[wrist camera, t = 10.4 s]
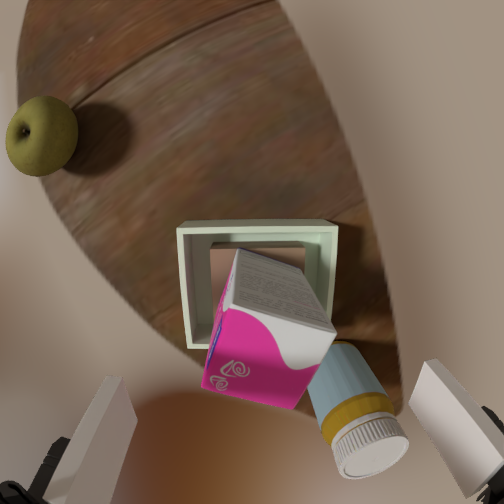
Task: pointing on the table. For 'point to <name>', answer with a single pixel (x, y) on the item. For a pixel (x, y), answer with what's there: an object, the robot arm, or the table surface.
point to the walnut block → (277, 250)
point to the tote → (208, 231)
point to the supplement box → (266, 333)
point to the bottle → (355, 414)
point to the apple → (41, 136)
